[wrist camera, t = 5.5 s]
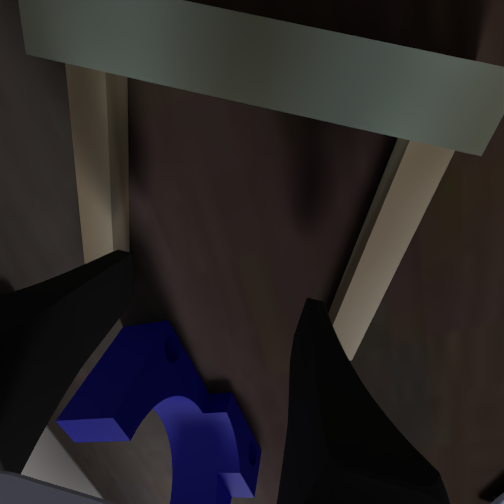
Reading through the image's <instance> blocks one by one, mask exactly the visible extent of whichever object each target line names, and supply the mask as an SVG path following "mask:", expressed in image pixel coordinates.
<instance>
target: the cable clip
mask: <svg viewBox="0 0 504 504" xmlns="http://www.w3.org/2000/svg"><path fill="white" fill-rule="evenodd" d="M152 409H154V410H155V411H156V412H157V414H158V415H159V417H160V418H161V420H162V422H163V424H164V426H165V429H166V431H167V434H168V438H169V442H170V447H171V454H172V468H173V478H172V492H171V501H170V504H230V503H231V498H232V497H246V498H254V497H255V490H256V484H257V477H258V471H259V464H260V458H261V450H260V448H259V446H258V444H257V442H256V440H255V438H254V436H253V434H252V432H251V430H250V428H249V426H248V424H247V422H246V420H245V418H244V416H243V414H242V412H241V410H240V408H239V406H238V404H237V402H236V400H235V398H234V396H233V394H232V393H217V394H209V393H208V391H207V389H206V387H205V385H204V384H203V382H202V380H201V378H200V376H199V375H198V373H197V371H196V369H195V367H194V366H193V364H192V362H191V360H190V358H189V356H188V355H187V353H186V351H185V349H184V347H183V346H182V344H181V342H180V340H179V338H178V336H177V335H176V333H175V331H174V329H173V327H172V326H171V324H170V322H169V320H167V321H160V322H154V323H147V324H140V325H134V326H127V327H123V328H122V329H121V331H120V332H119V334H118V335H117V336H116V338H115V339H114V341H113V342H112V343H111V345H110V346H109V347H108V349H107V350H106V352H105V353H104V354H103V356H102V357H101V359H100V360H99V361H98V363H97V364H96V366H95V367H94V368H93V370H92V371H91V372H90V374H89V375H88V377H87V378H86V379H85V381H84V382H83V384H82V385H81V386H80V388H79V389H78V391H77V392H76V393H75V395H74V396H73V398H72V399H71V400H70V402H69V403H68V404H67V406H66V407H65V409H64V410H63V411H62V413H61V414H60V416H59V417H58V418H57V420H56V422H57V423H58V424H59V425H60V426H61V427H62V429H63V430H64V431H65V432H66V433H67V434H68V435H69V437H70V438H71V439H72V440H73V441H74V442H104V441H131V439H132V437H133V435H134V433H135V431H136V430H137V428H138V426H139V425H140V423H141V422H142V420H143V419H144V418H145V417H146V415H147V414H148V413H149V412H150V411H151V410H152Z"/></svg>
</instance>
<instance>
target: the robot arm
mask: <svg viewBox="0 0 504 504" xmlns="http://www.w3.org/2000/svg"><path fill="white" fill-rule="evenodd" d="M132 296H133V253H130V252H126V251H122V250H116V251H113V252H111V253H108V254H106V255H104V256H102V257H100V258H97V259H95V260H93V261H91V262H89V263H87V264H84V265H82V266H80V267H78V268H75V269H73V270H71V271H69V272H66V273H64V274H61V275H59V276H56V277H54V278H51V279H49V280H46V281H44V282H41V283H38V284H36V285H33V286H30V287H27V288H24V289H21V290H18V291H14V292H11V293H8V294H4V295H0V504H114V503H112V502H109V501H107V500H104V499H101V498H98V497H94V496H91V495H88V494H84V493H81V492H78V491H74V490H71V489H68V488H64V487H61V486H57V485H54V484H51V483H48V482H44V481H41V480H37V479H34V478H31V477H28V476H24V475H21V472H22V470H23V468H24V466H25V464H26V462H27V460H28V459H29V457H30V455H31V453H32V451H33V449H34V447H35V445H36V443H37V442H38V440H39V438H40V436H41V434H42V433H43V431H44V429H45V427H46V425H47V424H48V422H49V420H50V418H51V416H52V415H53V413H54V411H55V410H56V408H57V406H58V405H59V403H60V401H61V399H62V398H63V396H64V394H65V393H66V391H67V390H68V388H69V386H70V385H71V383H72V382H73V380H74V378H75V377H76V375H77V374H78V372H79V370H80V369H81V368H82V366H83V365H84V363H85V362H86V361H87V359H88V358H89V357H90V355H91V354H92V353H93V352H94V350H95V349H96V348H97V346H98V345H99V344H100V343H101V341H102V340H103V339H104V337H105V336H106V335H107V334H108V332H109V331H110V330H111V328H112V327H113V326H114V324H115V323H116V322H117V321H118V319H119V318H120V317H121V315H122V313H123V312H124V310H125V308H126V307H127V305H128V303H129V301H130V300H131V298H132ZM277 504H450V502H449V498H448V495H447V492H446V489H445V487H444V484H443V481H442V479H441V476H440V473H439V472H438V471H437V470H436V469H435V468H434V467H433V466H432V465H431V464H430V463H429V462H428V461H427V460H426V459H425V458H424V457H423V456H422V455H421V454H420V453H419V452H418V451H417V450H416V449H415V448H414V447H413V446H412V445H411V444H410V443H409V441H408V440H407V439H406V438H405V437H404V436H403V435H402V434H401V432H400V431H399V430H398V429H397V428H396V427H395V426H394V424H393V423H392V422H391V421H390V420H389V418H388V417H387V416H386V415H385V413H384V412H383V411H382V410H381V408H380V407H379V406H378V404H377V403H376V402H375V400H374V399H373V398H372V396H371V395H370V394H369V392H368V391H367V389H366V388H365V386H364V385H363V383H362V381H361V380H360V378H359V377H358V375H357V373H356V372H355V370H354V368H353V366H352V365H351V363H350V361H349V359H348V357H347V355H346V353H345V351H344V349H343V347H342V345H341V343H340V341H339V339H338V337H337V334H336V332H335V330H334V327H333V325H332V322H331V320H330V317H329V315H328V312H327V309H326V306H325V304H324V302H323V301H319V300H315V299H311V298H307V299H306V302H305V305H304V308H303V311H302V314H301V317H300V320H299V323H298V326H297V329H296V332H295V334H294V339H293V345H292V351H291V358H290V378H289V409H288V426H287V435H286V442H285V450H284V458H283V465H282V472H281V479H280V486H279V493H278V499H277ZM490 504H504V493H502V494H501V495H500V496H499V497H498V498H496V499H495V500H494V501H493V502H492V503H490Z"/></svg>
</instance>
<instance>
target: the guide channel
mask: <svg viewBox="0 0 504 504" xmlns="http://www.w3.org/2000/svg"><path fill="white" fill-rule="evenodd" d="M18 4H19V10H20V17H21V24H22V31H23V37H24V44H25V51H26V54H27V55H31V56H36V57H40V58H45V59H49V60H54V61H58V62H63V63H65V67H66V77H67V87H68V98H69V108H70V118H71V128H72V139H73V149H74V159H75V169H76V180H77V190H78V200H79V210H80V221H81V231H82V241H83V252H84V262H85V264H87V263H89V262H91V261H93V260H95V259H97V258H100V257H102V256H104V255H106V254H108V253H111V252H113V251H116V250H122V251H126V252H130V235H129V157H128V78H127V77H130V78H134V79H138V80H143V81H147V82H152V83H156V84H161V85H165V86H170V87H174V88H179V89H183V90H188V91H192V92H197V93H201V94H205V95H210V96H214V97H219V98H223V99H228V100H232V101H237V102H241V103H246V104H250V105H255V106H259V107H263V108H268V109H272V110H277V111H281V112H286V113H290V114H295V115H299V116H304V117H308V118H313V119H317V120H322V121H326V122H330V123H335V124H339V125H344V126H348V127H353V128H357V129H362V130H366V131H371V132H375V133H380V134H384V135H388V136H393V137H397V141H396V144H395V146H394V149H393V151H392V154H391V156H390V159H389V161H388V164H387V166H386V169H385V171H384V174H383V176H382V179H381V181H380V184H379V186H378V189H377V192H376V194H375V197H374V199H373V202H372V204H371V207H370V209H369V212H368V214H367V217H366V219H365V222H364V224H363V227H362V229H361V232H360V234H359V237H358V239H357V242H356V245H355V247H354V250H353V252H352V255H351V257H350V260H349V262H348V265H347V267H346V270H345V272H344V275H343V277H342V280H341V282H340V285H339V287H338V290H337V292H336V295H335V298H334V300H333V303H332V305H331V308H330V310H329V313H328V315H329V317H330V320H331V322H332V325H333V327H334V330H335V332H336V334H337V337H338V339H339V341H340V343H341V345H342V347H343V349H344V351H345V353H346V355H347V357H348V359H349V360H351V361H352V359H353V357H354V355H355V353H356V351H357V349H358V347H359V345H360V343H361V340H362V338H363V336H364V334H365V332H366V330H367V328H368V326H369V324H370V322H371V320H372V318H373V316H374V314H375V312H376V310H377V308H378V306H379V304H380V302H381V300H382V298H383V296H384V294H385V292H386V290H387V288H388V286H389V284H390V282H391V280H392V278H393V276H394V273H395V271H396V269H397V267H398V265H399V263H400V261H401V259H402V257H403V255H404V253H405V251H406V249H407V247H408V245H409V243H410V241H411V239H412V237H413V235H414V233H415V231H416V229H417V227H418V225H419V223H420V221H421V219H422V217H423V215H424V213H425V211H426V209H427V206H428V204H429V202H430V200H431V198H432V196H433V194H434V192H435V190H436V188H437V186H438V184H439V182H440V180H441V178H442V176H443V174H444V172H445V170H446V168H447V166H448V164H449V162H450V160H451V158H452V156H453V154H454V152H455V151H460V152H464V153H469V154H473V155H478V156H482V154H483V152H484V150H485V148H486V147H487V145H488V143H489V141H490V139H491V137H492V135H493V134H494V132H495V130H496V128H497V126H498V124H499V122H500V120H501V119H502V117H503V115H504V67H501V66H497V65H492V64H487V63H482V62H477V61H473V60H468V59H463V58H458V57H453V56H449V55H444V54H439V53H434V52H429V51H425V50H420V49H415V48H410V47H405V46H401V45H396V44H391V43H386V42H381V41H377V40H372V39H367V38H362V37H357V36H353V35H348V34H343V33H338V32H334V31H329V30H324V29H319V28H314V27H310V26H305V25H300V24H295V23H290V22H286V21H281V20H276V19H271V18H266V17H262V16H257V15H252V14H247V13H242V12H238V11H233V10H228V9H223V8H218V7H214V6H209V5H204V4H199V3H194V2H190V1H185V0H18Z"/></svg>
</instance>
